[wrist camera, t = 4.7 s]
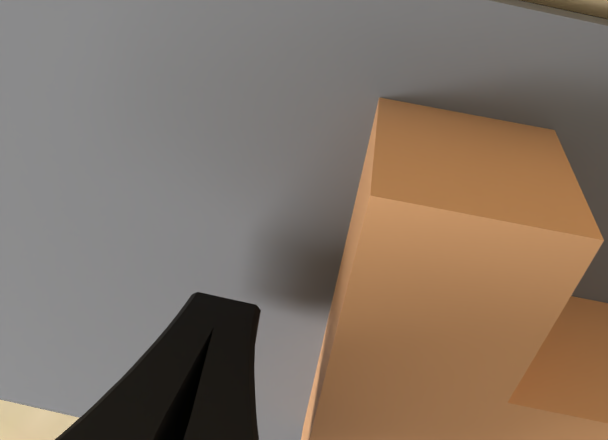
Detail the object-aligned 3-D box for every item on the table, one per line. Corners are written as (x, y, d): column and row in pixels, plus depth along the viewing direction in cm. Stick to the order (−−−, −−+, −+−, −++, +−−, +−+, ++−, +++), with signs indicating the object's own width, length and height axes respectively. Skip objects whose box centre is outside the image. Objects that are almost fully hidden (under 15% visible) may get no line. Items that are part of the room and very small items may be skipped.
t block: (302, 426, 16) (284, 538, 13) (379, 97, 10) (370, 195, 7) (663, 501, 15) (711, 630, 13) (979, 209, 9) (1177, 351, 7)
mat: (-38, 378, 17) (-47, 389, 17) (-219, -160, 9) (-243, -157, 9) (956, 603, 17) (967, 619, 17) (1759, 267, 9) (1814, 286, 8)
